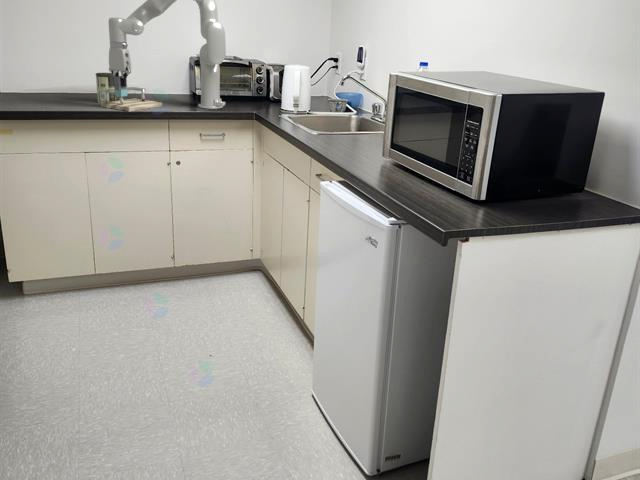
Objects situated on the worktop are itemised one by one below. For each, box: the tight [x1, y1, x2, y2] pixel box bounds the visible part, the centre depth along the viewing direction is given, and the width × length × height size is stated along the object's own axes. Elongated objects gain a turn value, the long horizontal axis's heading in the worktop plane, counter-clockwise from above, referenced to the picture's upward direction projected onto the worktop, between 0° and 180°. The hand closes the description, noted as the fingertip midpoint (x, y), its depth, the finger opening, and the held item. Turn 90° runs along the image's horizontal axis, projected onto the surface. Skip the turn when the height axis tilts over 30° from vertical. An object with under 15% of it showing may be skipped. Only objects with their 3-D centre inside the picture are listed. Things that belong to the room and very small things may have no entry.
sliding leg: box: [114, 75, 128, 103], centre depth 281 cm, size 4×5×12 cm
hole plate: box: [100, 97, 163, 113], centre depth 290 cm, size 18×23×2 cm
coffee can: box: [95, 72, 120, 104], centre depth 297 cm, size 10×10×14 cm
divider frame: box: [104, 86, 146, 103], centre depth 289 cm, size 8×20×6 cm, turn 153°
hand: (120, 85), depth 281 cm, fingers closed on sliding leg, 3 cm apart
